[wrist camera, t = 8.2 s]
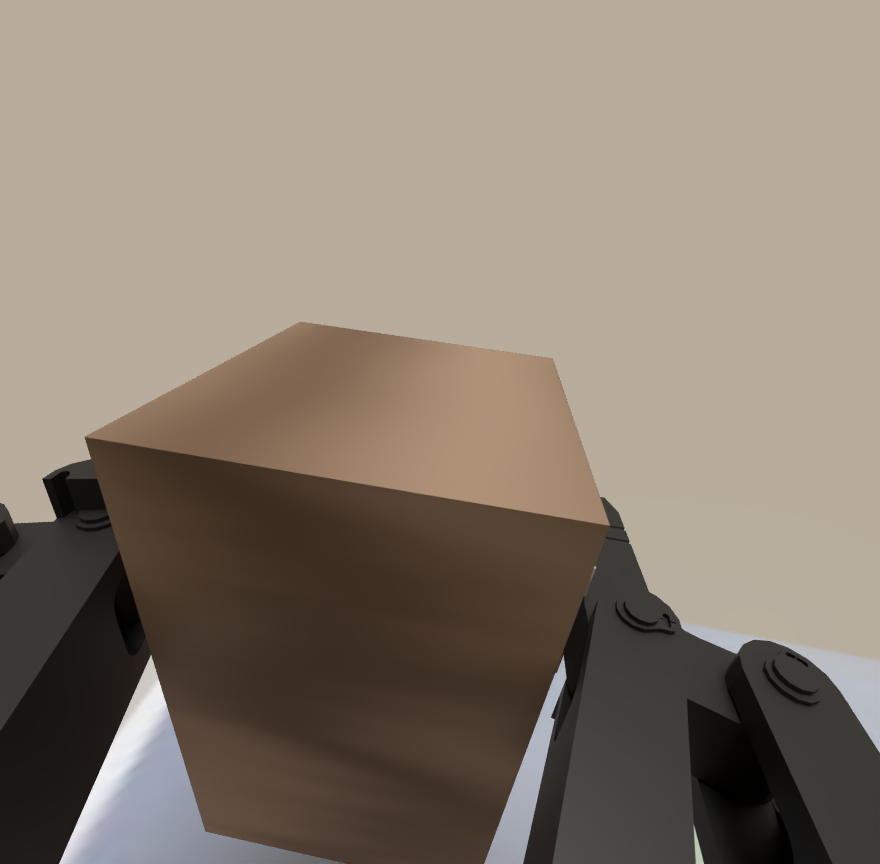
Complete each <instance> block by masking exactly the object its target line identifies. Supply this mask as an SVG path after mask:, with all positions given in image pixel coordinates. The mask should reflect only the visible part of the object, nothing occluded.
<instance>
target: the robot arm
mask: <svg viewBox="0 0 880 864" xmlns="http://www.w3.org/2000/svg"><path fill="white" fill-rule="evenodd" d="M42 480H43V483H44V485H45V488H46V490H47V493H48V496H49V498H50V501H51V504H52V506H53V509H54V512H55V514H56V517H57V519H56V520H55V521H54V522H39V523H38V522H37V523H17V524H14V523H13V521H12V518H11V516H10V514H9V512H8V510H7V508H6V507H5V505H4V504H1V503H0V864H59V862H60V860H61V858H62V856H63V853H64V851H65V849H66V846H67V844H68V842H69V840H70V837H71V835H72V833H73V831H74V828H75V826H76V824H77V821H78V819H79V817H80V815H81V812H82V810H83V808H84V806H85V803H86V801H87V799H88V796H89V794H90V792H91V790H92V787H93V785H94V783H95V781H96V778H97V776H98V774H99V771H100V769H101V767H102V765H103V762H104V760H105V758H106V756H107V753H108V751H109V749H110V746H111V744H112V742H113V740H114V737H115V735H116V733H117V731H118V728H119V726H120V724H121V721H122V719H123V717H124V715H125V712H126V710H127V708H128V705H129V703H130V701H131V699H132V696H133V694H134V692H135V689H136V687H137V685H138V683H139V680H140V678H141V676H142V674H143V671H144V669H145V667H146V665H147V662H148V660H149V658H150V655H151V652H150V649H149V646H148V642H147V639H146V636H145V633H144V629H143V626H142V623H141V619H140V616H139V613H138V610H137V606H136V603H135V600H134V597H133V593H132V590H131V587H130V584H129V580H128V577H127V574H126V571H125V567H124V564H123V561H122V557H121V554H120V551H119V548H118V544H117V541H116V538H115V535H114V531H113V528H112V525H111V522H110V518H109V515H108V512H107V509H106V505H105V502H104V499H103V495H102V492H101V489H100V486H99V482H98V479H97V476H96V473H95V469H94V466H93V463H92V460H86V461H82V462H77V463H73V464H70V465H67V466H65V467H63V468H60V469H58V470H55V471H54V472H52V473H50V474H49V475H47V476H46V477H45V478H43V479H42ZM600 498H601V501H602V504H603V507H604V510H605V513H606V516H607V519H608V521H609V524H610V527H609V530H608V532H607V535H606V538H605V540H604V543H603V546H602V548H601V551H600V554H599V556H598V559H597V562H596V565H595V567H594V570H593V573H592V575H591V578H590V581H589V583H588V586H587V589H586V591H585V594H584V597H583V599H582V602H581V605H580V607H579V610H578V613H577V615H576V618H575V621H574V624H573V626H572V629H571V632H570V634H569V637H568V640H567V642H566V645H565V648H564V650H563V653H562V656H561V658H560V661H559V664H558V666H557V669H556V672H555V673H557V671H558V668H559V666H560V663H561V660H562V658H563V655H564V661H565V669H566V676H567V678H566V681H565V683H564V686H563V688H562V691H561V693H560V696H559V698H558V701H557V704H556V706H555V709H554V711H553V714H552V716H551V718H553V719H555V721H554V726H553V730H552V735H551V739H550V744H549V749H548V753H547V758H546V762H545V767H544V771H543V776H542V781H541V785H540V790H539V794H538V799H537V804H536V808H535V813H534V817H533V822H532V826H531V831H530V836H529V840H528V845H527V849H526V854H525V858H524V863H523V864H696V856H695V839H694V827H695V831H696V835H697V839H698V843H699V846H700V850H701V854H702V858H703V862H704V864H880V753H879V751H878V750H877V748H876V747H875V745H874V743H873V742H872V740H871V739H870V737H869V736H868V734H867V733H866V731H865V729H864V728H863V726H862V725H861V723H860V722H859V720H858V719H857V717H856V715H855V714H854V712H853V711H852V709H851V708H850V706H849V705H848V703H847V701H846V700H845V698H844V697H843V695H842V694H841V692H840V691H839V690H838V688H837V687H836V686H835V685H834V684H833V682H832V681H831V680H830V679H829V677H828V676H827V675H826V674H825V673H824V672H822V671H821V670H820V669H819V668H818V667H816V666H815V665H814V664H813V663H812V662H810V661H809V660H808V659H806V658H805V657H803V656H801V655H800V654H798V653H796V652H795V651H793V650H791V649H789V648H787V647H785V646H782V645H779V644H776V643H773V642H771V641H762V640H752V641H750V642H748V643H745V644H743V646H742V647H741V649H740V650H739V652H738V653H737V654H735V653H732V652H730V651H728V650H725V649H723V648H721V647H718V646H716V645H714V644H712V643H709V642H707V641H705V640H702V639H700V638H698V637H696V636H694V635H692V634H690V633H688V632H686V631H684V630H683V629H682V628H681V625H680V621H679V619H678V618H677V617H676V615H675V614H674V613H673V611H672V610H671V608H670V607H669V606H668V605H667V604H665V603H664V602H663V601H662V600H661V599H659V598H658V597H657V596H655V595H653V594H651V593H650V592H649V591H648V588H647V585H646V583H645V580H644V578H643V575H642V572H641V570H640V567H639V565H638V562H637V560H636V557H635V554H634V552H633V549H632V546H631V544H629V539H628V536H627V533H626V531H624V526H623V523H622V521H621V518H620V515H619V513H618V512H617V510H616V509H615V508H614V507H613V506H612V505H611V504H610V503H609V502H608V501H607V500H606V499H605V498H602V497H600Z"/></svg>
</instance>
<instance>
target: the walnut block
mask: <svg viewBox="0 0 880 864" xmlns="http://www.w3.org/2000/svg"><path fill="white" fill-rule="evenodd" d="M85 440H86V443H87V447H88V450H89V453H90V456H91V460H92V463H93V466H94V469H95V473H96V476H97V479H98V482H99V486H100V489H101V492H102V495H103V499H104V502H105V505H106V509H107V512H108V515H109V518H110V522H111V525H112V528H113V531H114V535H115V538H116V541H117V544H118V548H119V551H120V554H121V557H122V561H123V564H124V567H125V571H126V574H127V577H128V580H129V584H130V587H131V590H132V593H133V597H134V600H135V603H136V606H137V610H138V613H139V616H140V619H141V623H142V626H143V629H144V633H145V636H146V639H147V642H148V646H149V649H150V652H151V655H152V659H153V662H154V665H155V668H156V672H157V675H158V678H159V681H160V685H161V688H162V691H163V694H164V698H165V701H166V704H167V708H168V711H169V714H170V717H171V721H172V724H173V727H174V730H175V734H176V737H177V740H178V743H179V747H180V750H181V753H182V756H183V760H184V763H185V766H186V770H187V773H188V776H189V779H190V783H191V786H192V789H193V792H194V796H195V799H196V802H197V805H198V809H199V812H200V815H201V818H202V822H203V825H204V828H205V831H206V832H210V833H215V834H219V835H223V836H228V837H232V838H237V839H241V840H245V841H250V842H254V843H258V844H263V845H267V846H272V847H276V848H280V849H285V850H289V851H294V852H298V853H302V854H307V855H311V856H316V857H320V858H324V859H329V860H333V861H337V862H342V863H346V864H484V862H485V860H486V857H487V854H488V852H489V849H490V846H491V844H492V841H493V838H494V836H495V833H496V830H497V827H498V825H499V822H500V819H501V817H502V814H503V811H504V809H505V806H506V803H507V801H508V798H509V795H510V793H511V790H512V787H513V785H514V782H515V779H516V776H517V774H518V771H519V768H520V766H521V763H522V760H523V758H524V755H525V752H526V750H527V747H528V744H529V742H530V739H531V736H532V734H533V731H534V728H535V726H536V723H537V720H538V717H539V715H540V712H541V709H542V707H543V704H544V701H545V699H546V696H547V693H548V691H549V688H550V685H551V683H552V680H553V677H554V675H555V672H556V669H557V666H558V664H559V661H560V658H561V656H562V653H563V650H564V648H565V645H566V642H567V640H568V637H569V634H570V632H571V629H572V626H573V624H574V621H575V618H576V615H577V613H578V610H579V607H580V605H581V602H582V599H583V597H584V594H585V591H586V589H587V586H588V583H589V581H590V578H591V575H592V573H593V570H594V567H595V565H596V562H597V559H598V556H599V554H600V551H601V548H602V546H603V543H604V540H605V538H606V535H607V532H608V530H609V527H610V524H609V521H608V519H607V516H606V513H605V510H604V507H603V504H602V501H601V498H600V496H599V492H598V489H597V487H596V483H595V481H594V478H593V475H592V472H591V469H590V466H589V463H588V460H587V457H586V454H585V451H584V449H583V445H582V443H581V440H580V437H579V434H578V431H577V428H576V425H575V422H574V420H573V416H572V413H571V410H570V407H569V405H568V402H567V399H566V396H565V393H564V390H563V387H562V384H561V381H560V378H559V376H558V373H557V370H556V367H555V364H554V361H553V359H552V358H545V357H539V356H532V355H525V354H518V353H511V352H504V351H497V350H490V349H484V348H477V347H470V346H463V345H456V344H449V343H443V342H436V341H428V340H422V339H415V338H408V337H400V336H394V335H388V334H381V333H373V332H367V331H360V330H352V329H346V328H339V327H332V326H325V325H319V324H312V323H305V322H299V323H297V324H295V325H293V326H291V327H290V328H288V329H286V330H284V331H283V332H280V333H278V334H276V335H275V336H273V337H271V338H269V339H267V340H265V341H264V342H261V343H260V344H258V345H256V346H254V347H252V348H250V349H248V350H247V351H245V352H243V353H241V354H239V355H237V356H235V357H233V358H231V359H230V360H228V361H226V362H224V363H222V364H220V365H218V366H217V367H215V368H213V369H211V370H209V371H207V372H205V373H203V374H202V375H200V376H198V377H196V378H194V379H192V380H191V381H188V382H186V383H185V384H183V385H181V386H179V387H177V388H175V389H173V390H171V391H170V392H168V393H166V394H164V395H162V396H160V397H158V398H157V399H155V400H153V401H151V402H149V403H147V404H145V405H143V406H141V407H140V408H138V409H136V410H134V411H132V412H130V413H128V414H127V415H125V416H123V417H121V418H119V419H117V420H115V421H113V422H111V423H110V424H108V425H106V426H104V427H102V428H100V429H98V430H97V431H95V432H93V433H91V434H89V435H87V436H85Z"/></svg>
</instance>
